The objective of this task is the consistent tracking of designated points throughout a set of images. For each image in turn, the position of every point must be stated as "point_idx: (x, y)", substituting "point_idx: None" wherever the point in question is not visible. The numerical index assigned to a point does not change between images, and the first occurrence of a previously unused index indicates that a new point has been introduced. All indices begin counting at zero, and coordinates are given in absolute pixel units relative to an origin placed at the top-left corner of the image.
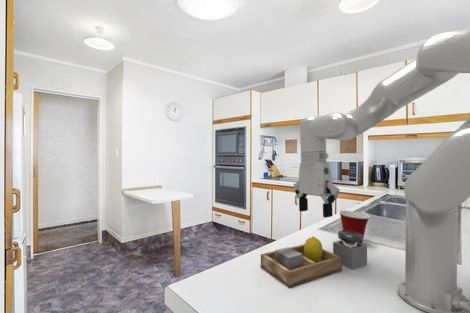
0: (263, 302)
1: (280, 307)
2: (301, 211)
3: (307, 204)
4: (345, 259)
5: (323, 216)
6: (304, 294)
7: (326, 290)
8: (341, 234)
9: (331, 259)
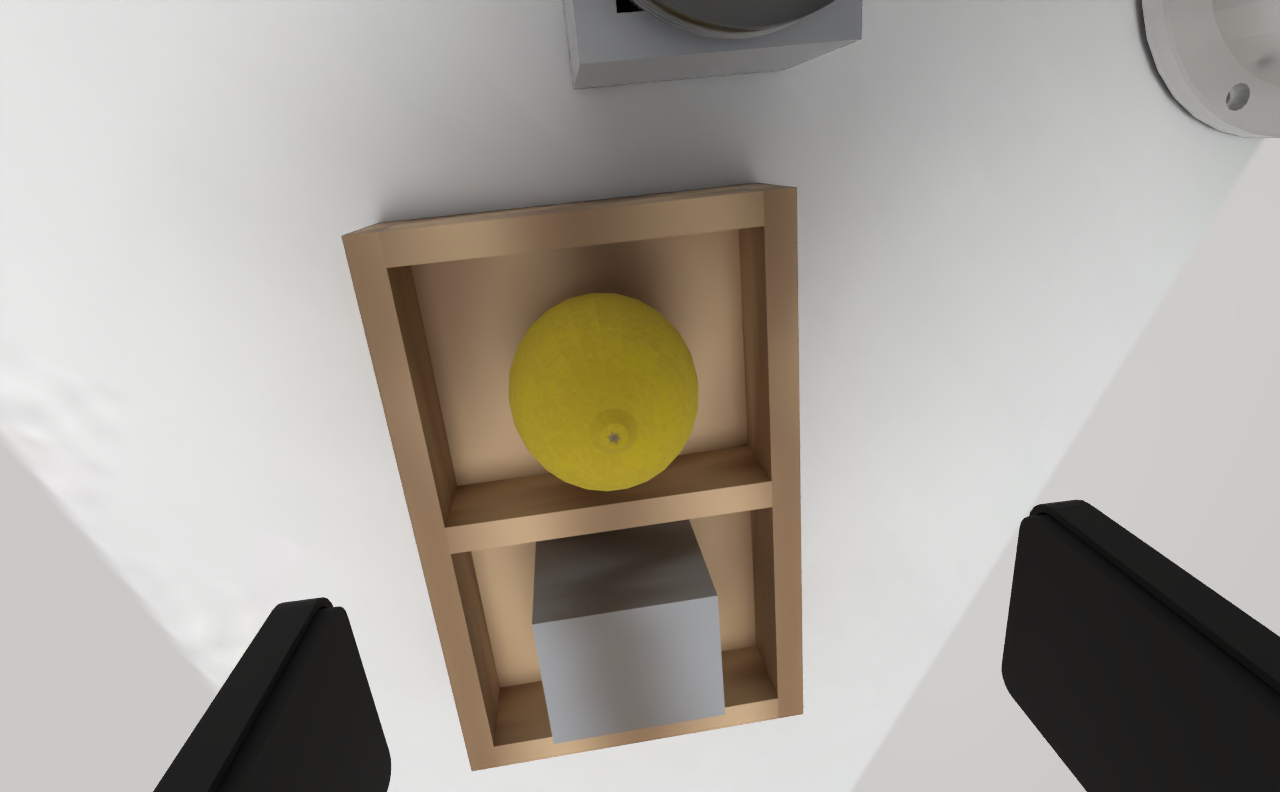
0: (811, 787)
1: (875, 741)
2: (377, 745)
3: (285, 727)
4: (728, 67)
5: (1020, 691)
6: (853, 603)
7: (885, 475)
8: (723, 2)
9: (783, 317)
